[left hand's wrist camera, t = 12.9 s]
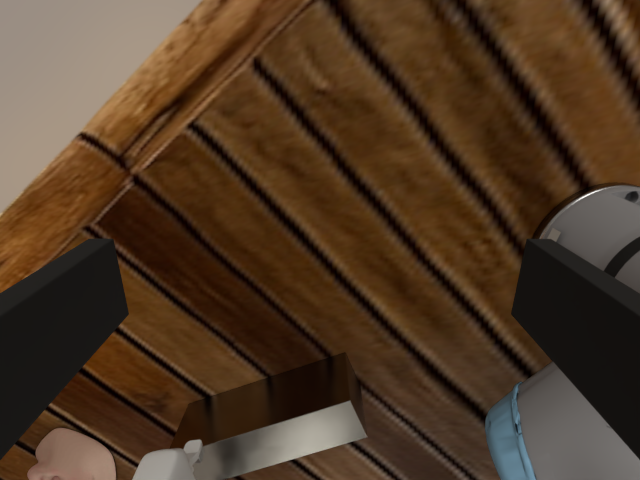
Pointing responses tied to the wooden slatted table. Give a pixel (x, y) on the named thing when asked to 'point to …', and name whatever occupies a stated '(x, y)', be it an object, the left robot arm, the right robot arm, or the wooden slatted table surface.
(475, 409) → the wooden slatted table surface
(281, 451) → the bar
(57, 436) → the anatomical model
